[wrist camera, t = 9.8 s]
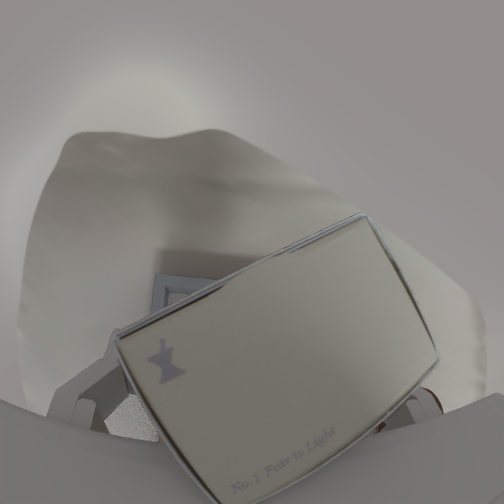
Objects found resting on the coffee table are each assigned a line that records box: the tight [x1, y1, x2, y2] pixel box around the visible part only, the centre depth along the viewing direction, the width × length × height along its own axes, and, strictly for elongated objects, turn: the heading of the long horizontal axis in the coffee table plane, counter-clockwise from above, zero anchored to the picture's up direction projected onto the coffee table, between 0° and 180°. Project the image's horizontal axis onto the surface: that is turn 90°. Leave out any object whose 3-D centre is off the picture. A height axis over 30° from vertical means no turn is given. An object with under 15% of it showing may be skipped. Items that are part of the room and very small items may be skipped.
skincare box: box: [110, 212, 440, 504], centre depth 11 cm, size 6×4×12 cm
